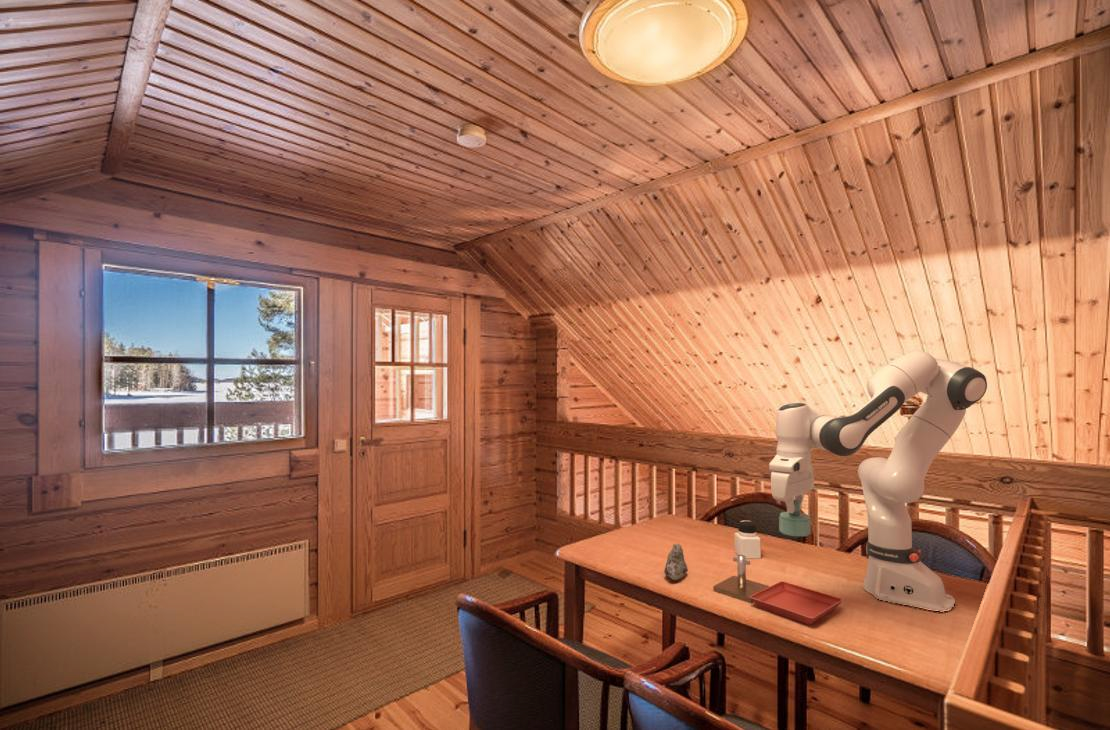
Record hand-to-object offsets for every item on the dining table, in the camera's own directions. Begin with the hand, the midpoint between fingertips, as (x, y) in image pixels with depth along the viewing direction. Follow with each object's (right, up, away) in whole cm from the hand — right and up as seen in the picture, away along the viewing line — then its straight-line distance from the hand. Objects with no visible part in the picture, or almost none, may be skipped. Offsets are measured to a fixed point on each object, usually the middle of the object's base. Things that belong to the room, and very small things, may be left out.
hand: (794, 511), depth 150 cm
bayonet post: (-11, -27, +11) cm, 31 cm away
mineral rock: (-29, -28, +24) cm, 47 cm away
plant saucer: (0, -28, 0) cm, 28 cm away
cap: (0, -6, 0) cm, 6 cm away
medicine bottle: (+2, -28, +43) cm, 51 cm away
